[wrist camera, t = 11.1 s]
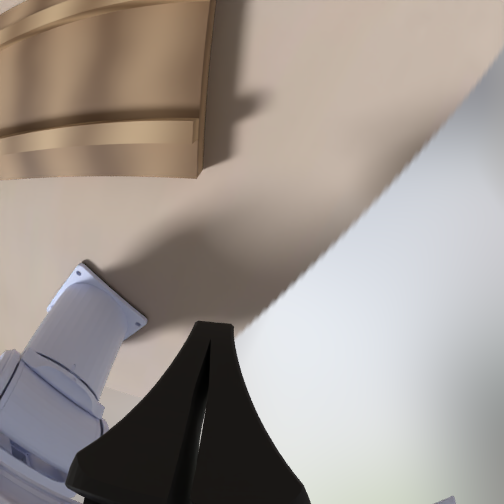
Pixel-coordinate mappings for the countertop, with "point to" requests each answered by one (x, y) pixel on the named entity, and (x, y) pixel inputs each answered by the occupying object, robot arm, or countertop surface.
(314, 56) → the countertop surface
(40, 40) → the brown wooden rack
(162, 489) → the robot arm
